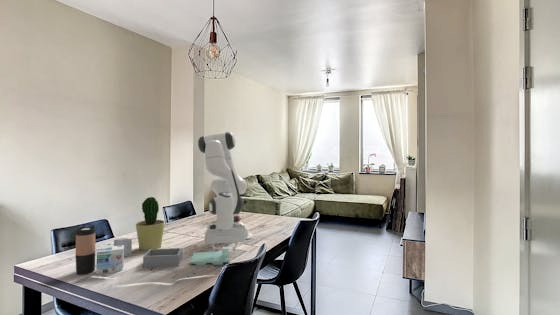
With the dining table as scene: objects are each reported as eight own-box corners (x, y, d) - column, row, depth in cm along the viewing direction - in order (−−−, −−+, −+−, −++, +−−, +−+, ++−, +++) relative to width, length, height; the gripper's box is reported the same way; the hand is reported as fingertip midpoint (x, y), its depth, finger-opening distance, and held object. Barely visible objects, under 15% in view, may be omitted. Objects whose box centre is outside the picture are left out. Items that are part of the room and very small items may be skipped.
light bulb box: (95, 276, 134) (96, 251, 133) (98, 270, 140) (98, 247, 140) (123, 272, 138) (123, 248, 138) (124, 267, 144) (124, 244, 144)
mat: (228, 255, 163) (228, 254, 163) (228, 265, 148) (228, 264, 148) (192, 256, 160) (192, 255, 160) (188, 267, 145) (188, 266, 145)
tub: (182, 259, 155) (182, 248, 155) (178, 267, 144) (178, 255, 144) (149, 261, 152) (149, 249, 152) (143, 269, 142) (143, 256, 141)
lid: (228, 254, 162) (228, 243, 162) (228, 264, 148) (228, 252, 148) (193, 256, 159) (193, 245, 159) (190, 265, 145) (190, 253, 145)
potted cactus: (158, 242, 184) (158, 193, 183) (169, 248, 173) (169, 196, 172) (131, 247, 173) (131, 195, 173) (141, 254, 162) (141, 198, 162)
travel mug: (80, 276, 133) (80, 231, 133) (72, 272, 137) (72, 228, 137) (98, 270, 139) (98, 227, 139) (90, 267, 143) (90, 225, 143)
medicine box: (132, 255, 161) (132, 238, 161) (125, 257, 157) (125, 241, 157) (120, 253, 164) (120, 237, 164) (113, 256, 159) (113, 239, 159)
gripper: (245, 222, 159) (244, 248, 160) (205, 223, 156) (205, 249, 156) (245, 225, 153) (245, 252, 153) (204, 226, 150) (204, 254, 150)
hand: (224, 251), depth 155 cm, fingers open, 8 cm apart
